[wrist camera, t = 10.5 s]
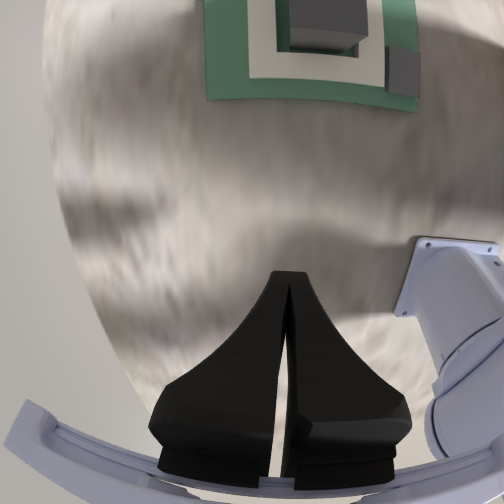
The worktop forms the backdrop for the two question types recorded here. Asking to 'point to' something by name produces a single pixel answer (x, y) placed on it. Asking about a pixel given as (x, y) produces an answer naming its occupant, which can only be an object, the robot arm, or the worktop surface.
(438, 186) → the worktop surface
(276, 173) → the worktop surface
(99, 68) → the worktop surface
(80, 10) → the worktop surface
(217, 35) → the board
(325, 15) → the plug
